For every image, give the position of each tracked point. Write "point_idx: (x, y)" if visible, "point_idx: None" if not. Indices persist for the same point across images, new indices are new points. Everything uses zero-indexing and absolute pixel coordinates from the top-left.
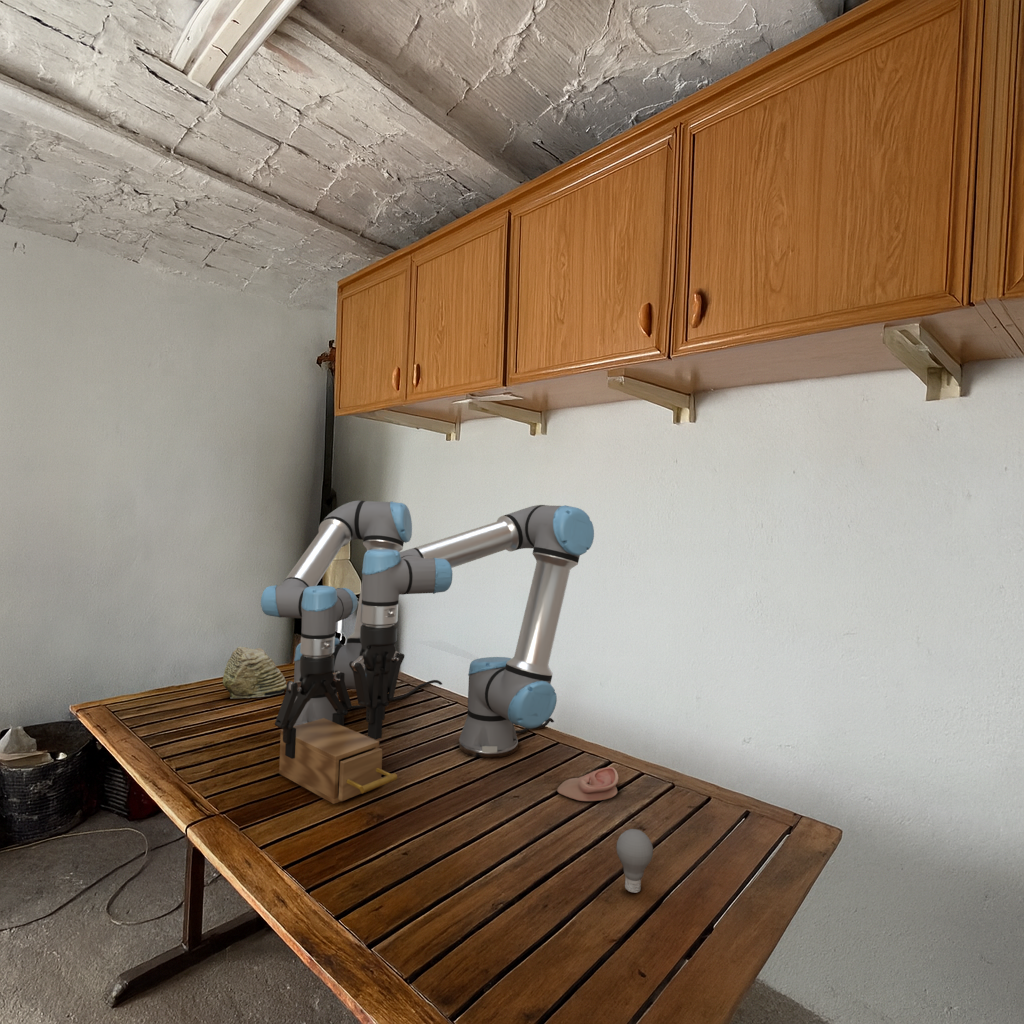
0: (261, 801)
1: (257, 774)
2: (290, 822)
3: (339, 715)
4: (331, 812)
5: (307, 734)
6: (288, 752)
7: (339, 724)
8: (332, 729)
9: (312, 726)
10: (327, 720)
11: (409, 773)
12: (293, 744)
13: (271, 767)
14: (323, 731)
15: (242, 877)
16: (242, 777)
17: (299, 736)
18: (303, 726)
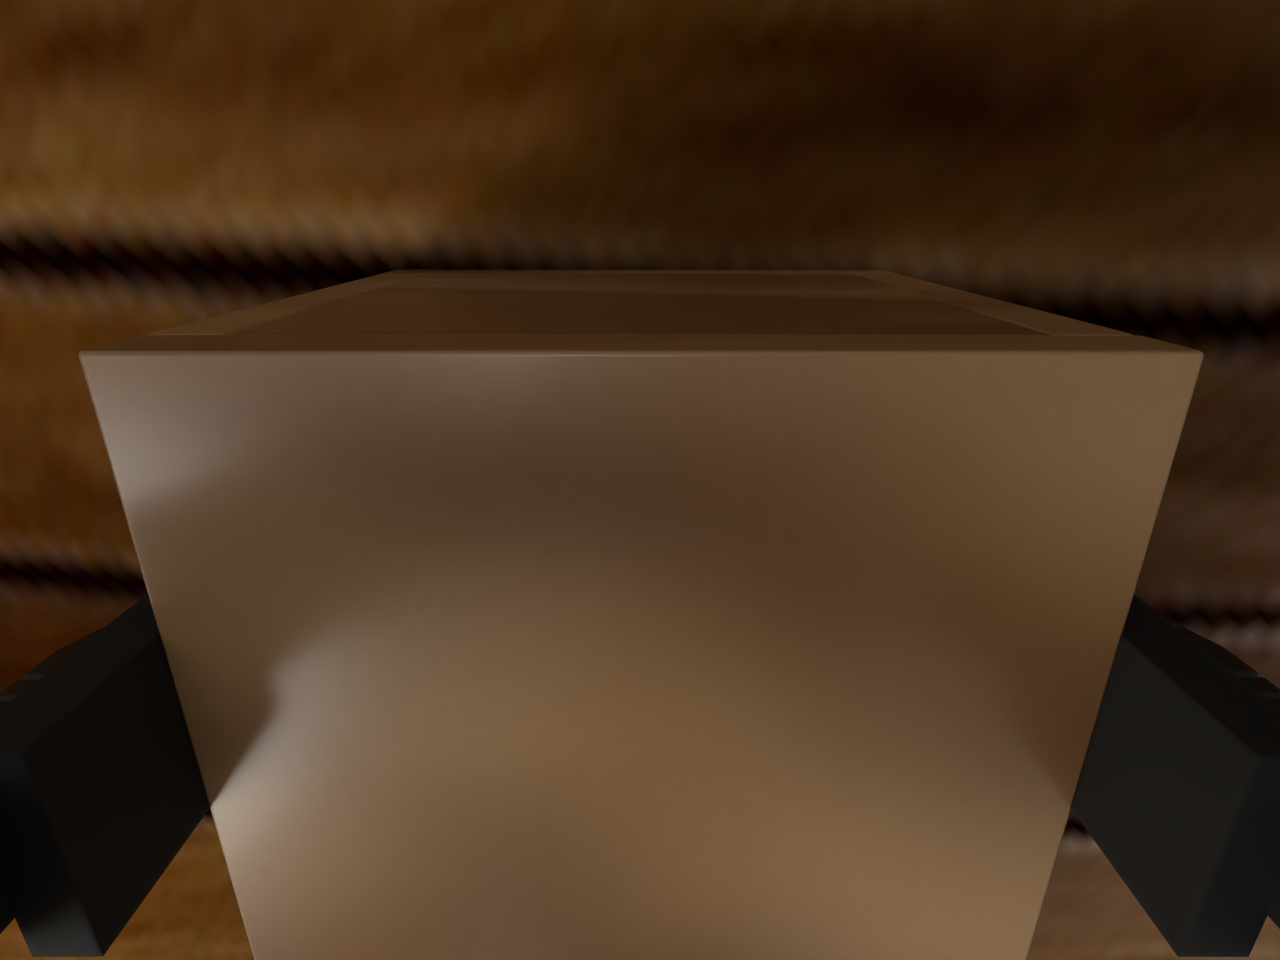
0: (102, 605)
1: (221, 120)
2: (179, 901)
3: (1214, 933)
4: None
5: (421, 821)
6: None
7: (1079, 805)
8: (835, 894)
9: (694, 602)
10: (1122, 527)
11: (1080, 901)
12: None
13: (403, 60)
14: (680, 878)
15: None
16: (69, 73)
17: (275, 813)
18: (562, 494)
